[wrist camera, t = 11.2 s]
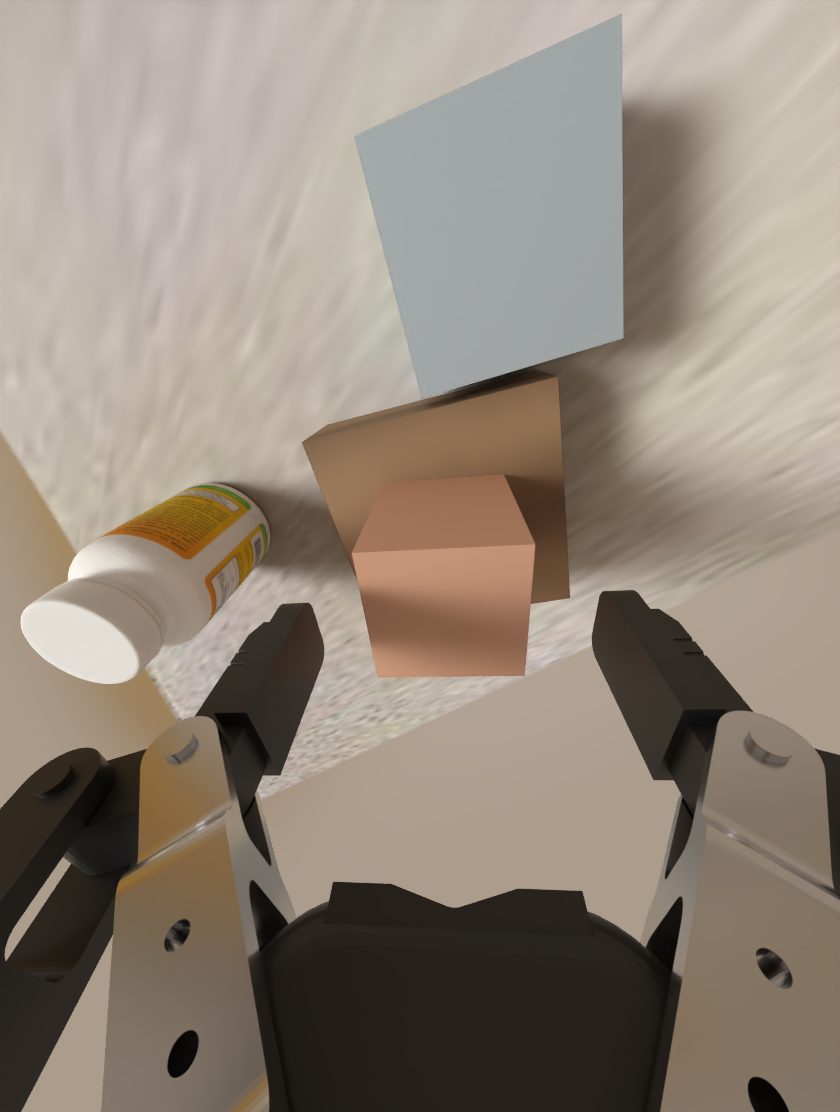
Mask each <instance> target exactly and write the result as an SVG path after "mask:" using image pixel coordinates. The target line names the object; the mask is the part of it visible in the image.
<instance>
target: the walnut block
mask: <svg viewBox="0 0 840 1112" xmlns="http://www.w3.org/2000/svg"><path fill="white" fill-rule="evenodd" d="M302 444H303V446H304V449H305V451H306V454H307V456H308V459H309V461H310V464H311V466H312V469H313V471H314V474H315V476H316V479H317V481H318V484H319V486H320V489H321V491H322V494H323V496H324V499H325V501H326V504H327V506H328V509H329V511H330V514H331V516H332V519H333V521H334V524H335V526H336V529H337V531H338V534H339V536H340V539H341V541H342V544H343V546H344V549H345V551H346V554H347V556H348V559H349V561H350V564H351V566H352V569H353V571H354V574H355V576H356V571H355V567H354V562H353V557H352V551H353V549H354V547H355V544H356V542H357V540H358V538H359V536H360V533H361V531H362V529H363V527H364V524H365V522H366V520H367V518H368V516H369V513H370V511H371V509H372V507H373V505H374V502H375V500H376V498H377V496H378V493H379V491H380V489H381V487H382V485H383V482H399V481H414V480H429V479H444V478H459V477H474V476H489V475H504V476H505V478H506V480H507V482H508V485H509V487H510V489H511V491H512V494H513V496H514V498H515V500H516V502H517V505H518V507H519V509H520V511H521V514H522V516H523V518H524V520H525V522H526V525H527V527H528V529H529V531H530V534H531V536H532V538H533V540H534V542H535V555H534V567H533V579H532V592H531V604H534V603H540V602H547V601H553V600H560V599H566V598H570V589H569V570H568V552H567V533H566V515H565V497H564V478H563V460H562V441H561V423H560V404H559V386H558V376H554V375H551V374H547V373H544V372H540V371H537V370H535V371H531V372H527V373H524V374H520V375H516V376H512V377H508V378H504V379H501V380H497V381H493V382H489V383H485V384H482V385H478V386H474V387H470V388H466V389H462V390H459V391H455V392H451V393H447V394H443V395H440V396H436V397H432V398H428V399H424V400H420V401H417V402H413V403H409V404H405V405H401V406H398V407H394V408H390V409H386V410H382V411H379V412H375V413H371V414H367V415H363V416H359V417H356V418H352V419H348V420H344V421H340V422H337V423H333V424H329V425H326V426H325V427H323V428H322V429H321V430H319V431H318V432H316V433H315V434H313V435H312V436H310V437H309V438H307V439H306V440H305V441H303V442H302ZM356 579H357V576H356Z"/></svg>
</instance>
